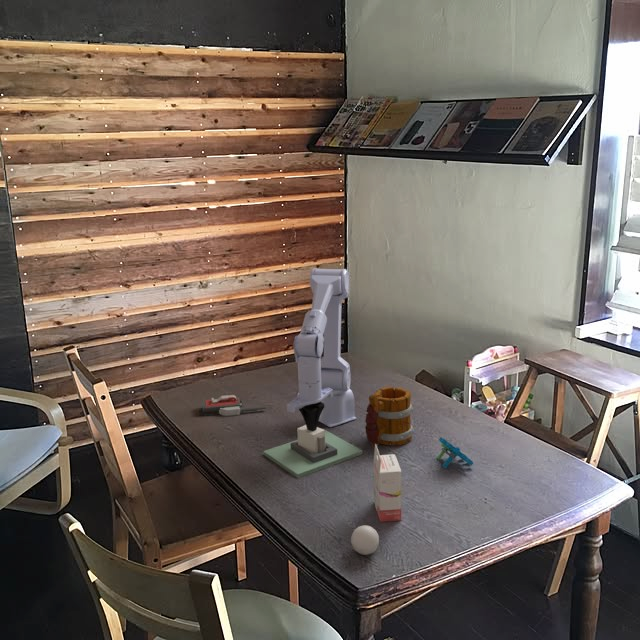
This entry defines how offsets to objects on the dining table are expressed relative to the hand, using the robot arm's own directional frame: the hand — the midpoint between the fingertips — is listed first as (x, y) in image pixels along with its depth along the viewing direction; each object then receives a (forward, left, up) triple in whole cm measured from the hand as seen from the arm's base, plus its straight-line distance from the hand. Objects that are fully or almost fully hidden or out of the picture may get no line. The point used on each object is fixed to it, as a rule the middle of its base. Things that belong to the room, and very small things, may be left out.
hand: (311, 430), depth 184 cm
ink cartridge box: (+3, +33, -7) cm, 34 cm away
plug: (0, 0, -6) cm, 6 cm away
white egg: (+16, +41, -7) cm, 45 cm away
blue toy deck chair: (-24, +27, -7) cm, 37 cm away
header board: (0, 0, -7) cm, 7 cm away
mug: (-20, +6, -7) cm, 22 cm away
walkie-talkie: (+2, -40, -8) cm, 40 cm away
